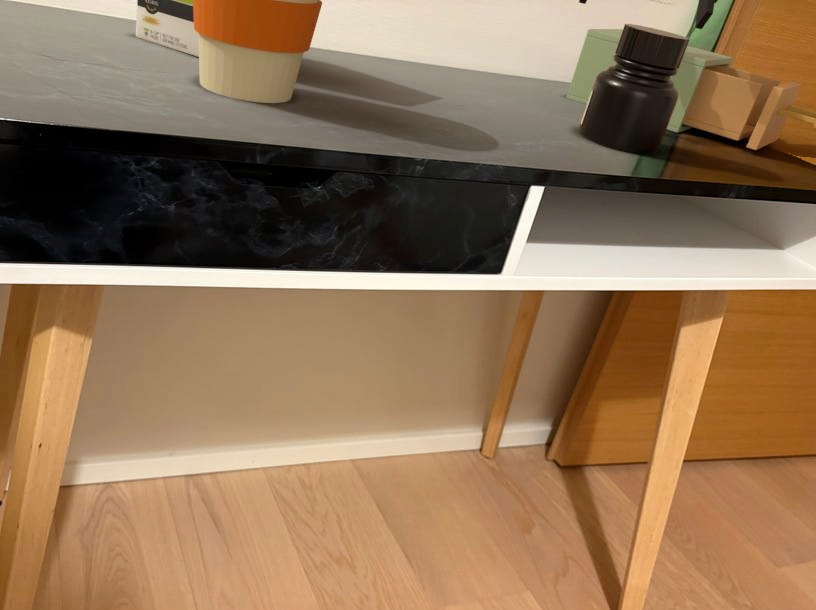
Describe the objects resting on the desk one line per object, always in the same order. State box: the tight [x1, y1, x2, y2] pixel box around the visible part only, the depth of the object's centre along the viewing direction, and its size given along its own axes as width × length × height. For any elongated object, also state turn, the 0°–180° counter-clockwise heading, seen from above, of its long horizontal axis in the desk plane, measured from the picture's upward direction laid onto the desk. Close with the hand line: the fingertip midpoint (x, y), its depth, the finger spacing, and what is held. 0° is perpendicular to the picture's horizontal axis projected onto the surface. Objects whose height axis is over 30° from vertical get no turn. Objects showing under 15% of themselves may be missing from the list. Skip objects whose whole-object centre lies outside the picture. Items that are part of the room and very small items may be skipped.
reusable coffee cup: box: [193, 0, 323, 104], centre depth 75 cm, size 13×13×15 cm
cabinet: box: [566, 28, 734, 134], centre depth 108 cm, size 16×14×9 cm
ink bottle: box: [578, 23, 690, 156], centre depth 87 cm, size 10×9×12 cm
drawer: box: [683, 65, 816, 151], centre depth 102 cm, size 20×12×7 cm, turn 52°
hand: (644, 8), depth 91 cm, fingers open, 13 cm apart
